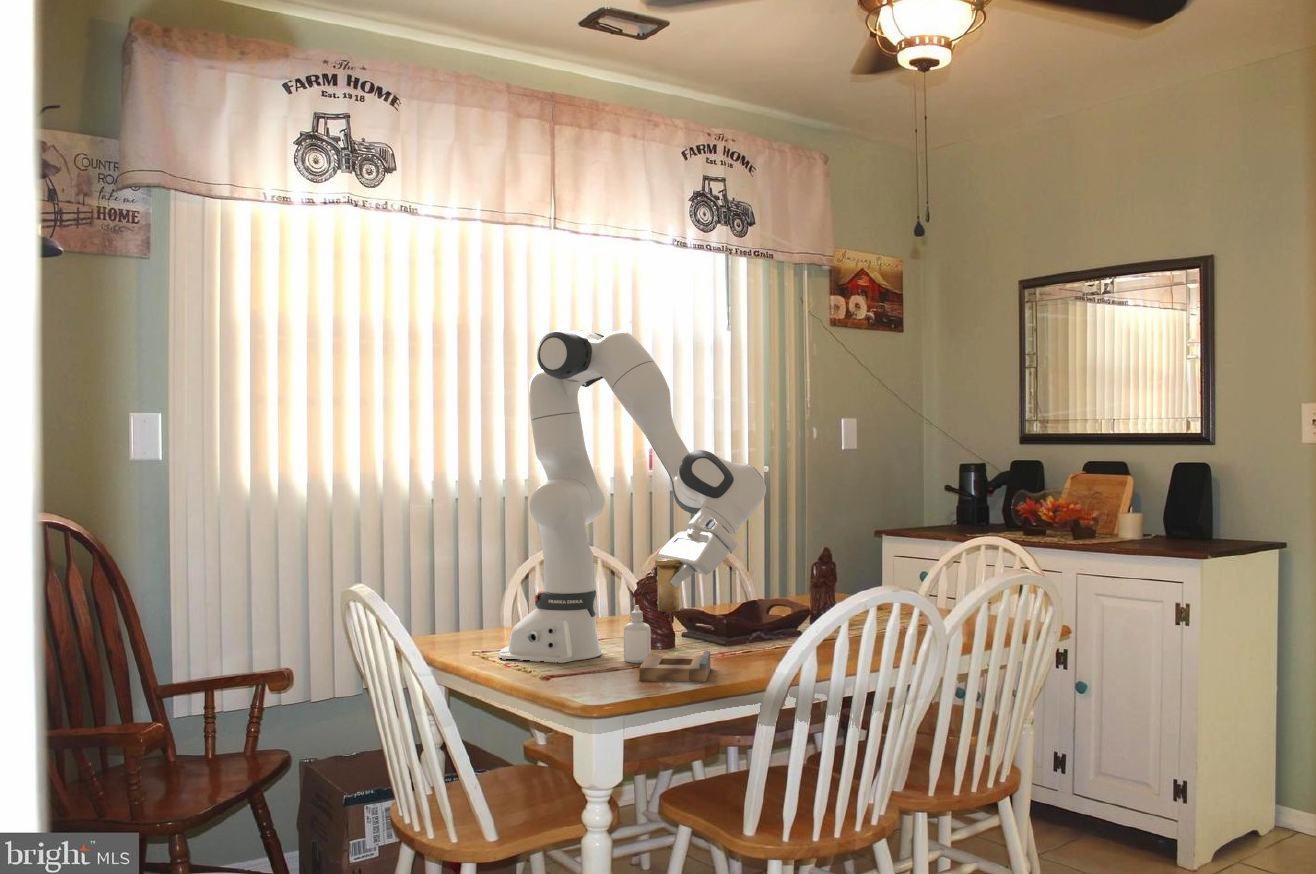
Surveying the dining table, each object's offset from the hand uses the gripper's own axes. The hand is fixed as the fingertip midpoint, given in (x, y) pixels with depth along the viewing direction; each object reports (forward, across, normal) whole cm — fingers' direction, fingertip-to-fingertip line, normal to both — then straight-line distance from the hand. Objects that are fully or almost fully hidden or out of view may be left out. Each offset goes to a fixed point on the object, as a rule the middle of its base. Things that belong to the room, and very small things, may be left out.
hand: (665, 583), depth 206 cm
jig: (+11, -1, +15) cm, 19 cm away
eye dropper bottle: (+13, -16, +13) cm, 25 cm away
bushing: (+3, 0, +4) cm, 5 cm away
